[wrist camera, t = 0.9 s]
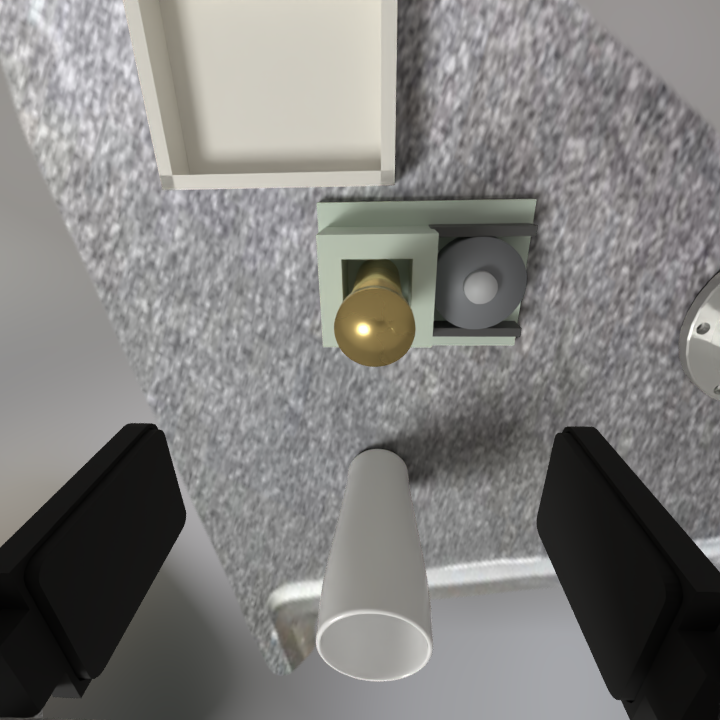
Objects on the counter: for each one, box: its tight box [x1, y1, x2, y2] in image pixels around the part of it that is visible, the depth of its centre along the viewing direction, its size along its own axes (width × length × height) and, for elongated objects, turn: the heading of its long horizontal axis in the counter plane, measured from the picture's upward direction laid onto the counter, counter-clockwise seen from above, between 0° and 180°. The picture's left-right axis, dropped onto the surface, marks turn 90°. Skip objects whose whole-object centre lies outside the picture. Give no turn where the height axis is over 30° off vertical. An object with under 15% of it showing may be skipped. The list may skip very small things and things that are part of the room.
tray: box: [123, 0, 397, 190], centre depth 23 cm, size 14×11×3 cm
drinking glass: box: [316, 449, 433, 681], centre depth 29 cm, size 7×7×15 cm
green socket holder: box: [316, 199, 538, 348], centre depth 26 cm, size 14×10×5 cm
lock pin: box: [334, 259, 416, 367], centre depth 23 cm, size 4×4×10 cm
